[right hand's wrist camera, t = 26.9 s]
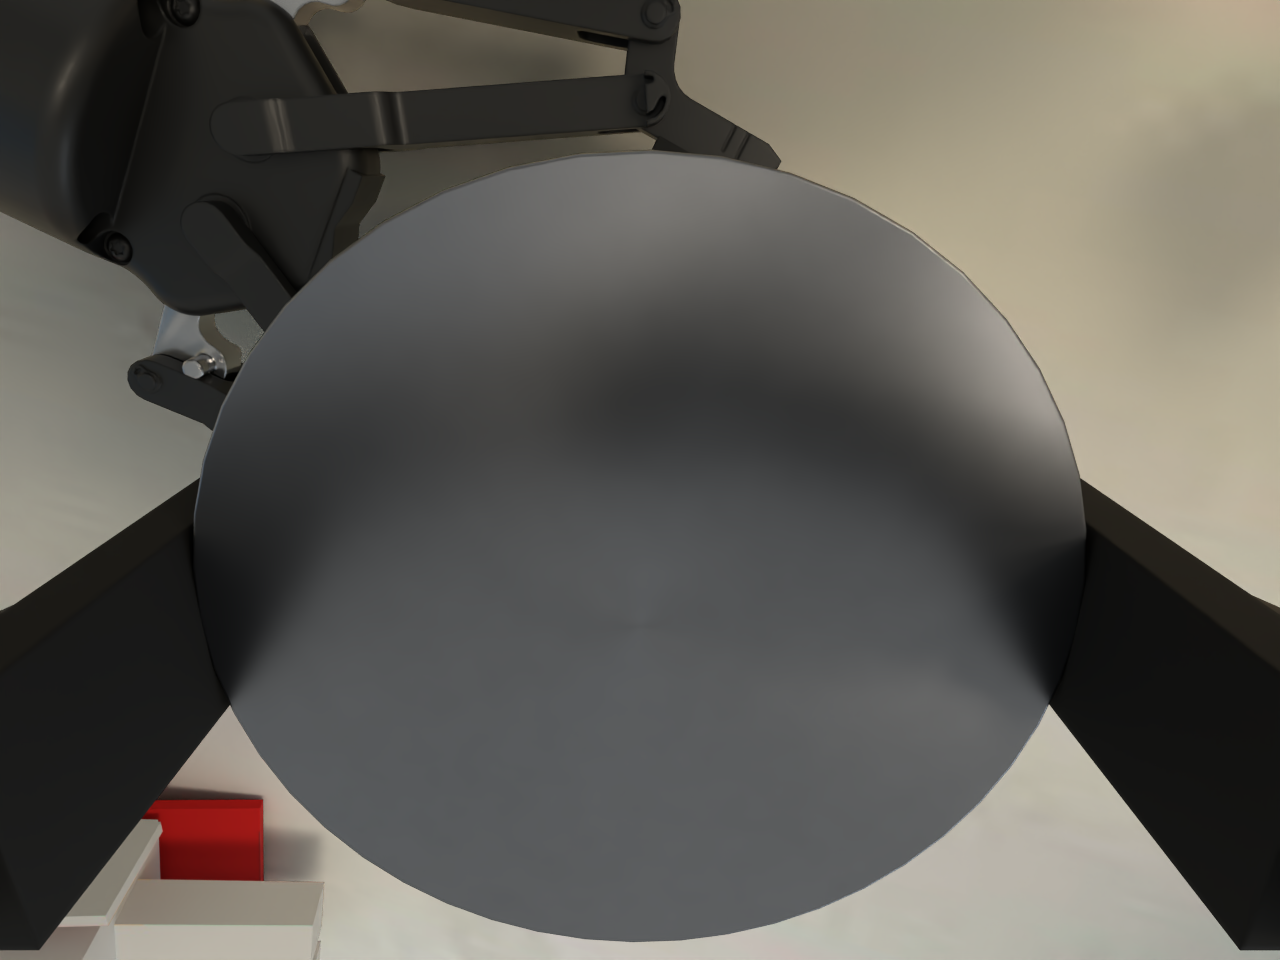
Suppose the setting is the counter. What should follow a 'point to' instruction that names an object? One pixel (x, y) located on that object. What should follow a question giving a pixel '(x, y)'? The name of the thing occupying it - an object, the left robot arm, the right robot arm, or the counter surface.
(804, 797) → the lid
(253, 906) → the toy
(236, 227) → the left robot arm
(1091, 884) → the counter surface
